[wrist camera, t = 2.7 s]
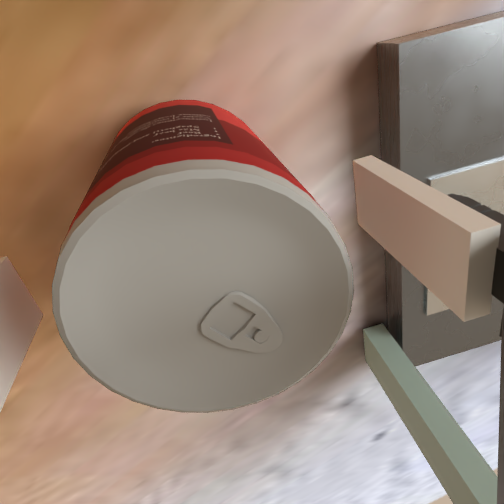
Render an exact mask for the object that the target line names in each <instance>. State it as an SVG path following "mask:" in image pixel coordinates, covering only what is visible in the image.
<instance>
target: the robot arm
mask: <svg viewBox="0 0 504 504" xmlns="http://www.w3.org/2000/svg"><path fill="white" fill-rule="evenodd" d="M353 172H354V184H355V196H356V208H357V220H358V225H360V226H361V227H362V228H363V229H364V230H365V231H366V232H367V233H368V234H369V235H370V236H371V237H373V238H374V239H375V240H376V241H377V242H378V243H379V244H380V245H381V246H382V247H383V248H384V249H386V250H387V251H388V252H389V253H390V254H391V255H392V256H393V257H394V258H395V259H396V260H397V261H399V262H400V263H401V264H402V265H403V266H404V267H405V268H406V269H407V270H408V271H409V272H410V273H411V274H413V275H414V276H415V277H416V278H417V279H418V280H419V281H420V282H421V283H422V284H423V285H424V286H426V287H427V288H428V289H429V290H430V291H431V292H432V293H433V294H434V295H435V296H436V297H437V298H439V299H440V300H441V301H442V302H443V303H444V304H445V305H446V306H447V307H448V308H449V309H450V310H452V311H453V312H454V313H455V314H456V315H457V316H458V317H459V318H460V319H461V320H462V321H463V322H466V321H469V320H472V319H476V318H479V317H482V316H485V315H488V314H490V311H491V303H492V295H493V296H494V297H495V298H497V299H498V300H499V301H500V302H502V303H503V304H504V215H503V214H501V213H499V212H497V211H495V210H491V208H489V207H487V206H485V205H481V203H479V202H477V201H475V200H473V199H471V198H469V197H465V196H461V195H456V194H448V195H445V194H444V193H442V192H440V191H438V190H436V189H434V188H432V187H430V186H428V185H427V184H425V183H423V182H421V181H419V180H417V179H415V178H413V177H412V176H410V175H408V174H406V173H404V172H402V171H400V170H398V169H397V168H395V167H393V166H391V165H389V164H387V163H385V162H383V161H382V160H380V159H378V158H376V157H374V156H372V155H370V156H366V157H363V158H359V159H355V160H353ZM42 317H43V314H42V312H41V310H40V309H39V307H38V305H37V304H36V302H35V301H34V299H33V297H32V296H31V294H30V292H29V291H28V289H27V288H26V286H25V284H24V283H23V281H22V279H21V278H20V276H19V275H18V273H17V271H16V270H15V268H14V266H13V265H12V263H11V262H10V260H9V258H8V257H7V256H5V257H1V258H0V412H1V409H2V407H3V405H4V403H5V400H6V398H7V396H8V394H9V391H10V389H11V387H12V384H13V382H14V380H15V378H16V375H17V373H18V371H19V369H20V366H21V364H22V362H23V360H24V357H25V355H26V353H27V351H28V348H29V346H30V344H31V342H32V339H33V337H34V335H35V333H36V330H37V328H38V326H39V324H40V321H41V319H42ZM499 336H500V337H502V343H501V378H500V412H499V447H498V481H497V504H504V307H503V314H502V321H501V328H500V335H499Z"/></svg>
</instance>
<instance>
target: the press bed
mask: <svg viewBox="0 0 504 504" xmlns="http://www.w3.org/2000/svg"><path fill="white" fill-rule="evenodd" d="M377 59H378V85H379V112H380V138H381V160H382V161H383V162H385V163H387V164H389V165H391V166H393V167H395V168H397V169H398V170H400V171H402V172H404V173H406V174H408V175H410V176H412V177H413V178H415V179H417V180H419V181H421V182H423V183H425V184H427V185H428V186H430V187H432V188H434V189H436V190H438V191H440V192H442V193H444V194H445V195H448V194H456V195H461V196H465V197H469V198H471V199H473V200H475V201H477V202H479V203H481V205H485V206H487V207H489V208H491V210H495V211H497V212H499V213H501V214H503V215H504V11H500V12H497V13H493V14H489V15H485V16H481V17H477V18H473V19H469V20H465V21H461V22H457V23H453V24H449V25H445V26H441V27H437V28H434V29H430V30H426V31H422V32H418V33H414V34H410V35H406V36H402V37H398V38H394V39H390V40H386V41H382V42H378V43H377ZM385 269H386V296H387V322H388V331H389V333H390V334H391V335H392V337H393V338H394V339H395V341H396V342H397V343H398V345H399V346H400V347H401V349H402V350H403V351H404V353H405V354H406V355H407V357H408V358H409V359H410V361H411V362H412V363H413V365H414V366H418V365H421V364H425V363H428V362H431V361H434V360H438V359H441V358H444V357H447V356H450V355H454V354H457V353H460V352H463V351H467V350H470V349H473V348H476V347H480V346H483V345H486V344H489V343H493V342H496V341H499V340H502V337H500V336H499V335H500V328H501V321H502V314H503V307H504V304H503V303H502V302H500V301H499V300H498V299H497V298H495V297H494V296H493V295H492V303H491V311H490V314H488V315H485V316H482V317H479V318H476V319H472V320H469V321H466V322H463V321H462V320H461V319H460V318H459V317H458V316H457V315H456V314H455V313H454V312H453V311H452V310H450V309H449V308H448V307H447V306H446V305H445V304H444V303H443V302H442V301H441V300H440V299H439V298H437V297H436V296H435V295H434V294H433V293H432V292H431V291H430V290H429V289H428V288H427V287H426V286H424V285H423V284H422V283H421V282H420V281H419V280H418V279H417V278H416V277H415V276H414V275H413V274H411V273H410V272H409V271H408V270H407V269H406V268H405V267H404V266H403V265H402V264H401V263H400V262H399V261H397V260H396V259H395V258H394V257H393V256H392V255H391V254H390V253H389V252H388V251H387V250H386V249H385Z"/></svg>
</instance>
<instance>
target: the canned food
mask: <svg viewBox="0 0 504 504" xmlns="http://www.w3.org/2000/svg"><path fill="white" fill-rule="evenodd" d="M353 293H354V285H353V270H352V265H351V262H350V259H349V256H348V253H347V249H346V246H345V244H344V242H343V241H342V239H341V237H340V236H339V234H338V232H337V230H336V228H335V227H334V225H333V223H332V222H331V220H330V218H329V217H328V215H327V213H326V212H325V211H324V210H323V209H322V208H321V207H320V206H319V204H318V203H317V202H316V201H315V199H314V198H313V197H312V196H311V194H310V193H309V192H308V191H307V190H306V189H305V188H304V187H303V186H302V185H301V184H300V183H299V181H298V180H297V179H296V178H295V177H294V176H293V175H292V174H291V173H290V172H289V171H288V169H287V168H286V167H285V166H284V165H283V164H282V163H281V162H280V161H279V160H278V159H277V158H276V156H275V155H274V154H273V153H272V152H271V151H270V150H269V149H268V148H267V147H266V146H265V145H264V143H263V142H262V141H261V140H260V139H259V138H258V137H257V136H256V135H255V134H254V133H253V132H252V130H251V129H250V128H249V127H248V126H247V125H246V124H245V123H244V122H243V121H241V120H240V119H239V118H237V117H236V116H234V115H233V114H232V113H230V112H229V111H227V110H224V109H222V108H220V107H218V106H215V105H213V104H209V103H205V102H201V101H196V100H174V101H168V102H163V103H159V104H156V105H154V106H152V107H149V108H147V109H144V110H143V111H141V112H140V113H139V114H137V115H136V116H134V117H133V118H131V119H130V120H129V121H128V122H127V123H126V125H125V126H124V127H123V128H122V129H121V130H120V131H119V133H118V134H117V136H116V138H115V140H114V142H113V144H112V146H111V147H110V149H109V151H108V153H107V155H106V157H105V159H104V161H103V163H102V165H101V167H100V169H99V171H98V173H97V175H96V177H95V179H94V180H93V182H92V184H91V186H90V188H89V190H88V192H87V194H86V196H85V198H84V200H83V202H82V204H81V206H80V208H79V210H78V212H77V213H76V215H75V217H74V219H73V221H72V223H71V225H70V228H69V231H68V233H67V235H66V237H65V239H64V241H63V243H62V245H61V249H60V253H59V257H58V261H57V265H56V270H55V275H54V279H53V283H52V302H53V314H54V317H55V321H56V324H57V327H58V331H59V334H60V337H61V338H62V340H63V342H64V343H65V345H66V347H67V348H68V350H69V352H70V353H71V355H72V357H73V358H74V359H75V360H76V361H77V362H78V363H79V365H80V366H81V367H82V368H83V369H84V370H85V371H86V372H87V373H88V374H89V375H90V376H91V377H92V378H94V379H95V380H97V381H98V382H99V383H101V384H102V385H104V386H105V387H106V388H108V389H109V390H111V391H113V392H115V393H117V394H119V395H121V396H123V397H125V398H127V399H129V400H131V401H134V402H137V403H140V404H144V405H147V406H150V407H154V408H157V409H163V410H170V411H177V412H197V413H208V412H216V411H225V410H232V409H236V408H240V407H244V406H248V405H252V404H255V403H258V402H260V401H263V400H265V399H268V398H270V397H273V396H275V395H277V394H279V393H281V392H283V391H284V390H286V389H288V388H290V387H291V386H293V385H295V384H296V383H298V382H299V381H301V380H302V379H303V378H304V377H306V376H307V375H308V374H309V373H311V372H312V371H313V370H314V369H316V367H317V366H318V365H319V364H320V363H321V362H322V361H323V360H324V359H325V358H326V356H327V355H328V354H329V353H330V352H331V351H332V349H333V347H334V346H335V344H336V343H337V341H338V339H339V338H340V336H341V335H342V333H343V331H344V328H345V325H346V323H347V320H348V318H349V315H350V312H351V306H352V300H353Z"/></svg>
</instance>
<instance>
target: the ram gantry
mask: <svg viewBox="0 0 504 504" xmlns="http://www.w3.org/2000/svg"><path fill="white" fill-rule="evenodd" d="M363 335H364V348H365V360H366V362H367V364H368V365H369V367H370V368H371V370H372V372H373V373H374V375H375V377H376V378H377V380H378V381H379V383H380V385H381V386H382V388H383V390H384V391H385V393H386V395H387V396H388V398H389V399H390V401H391V403H392V404H393V406H394V408H395V409H396V411H397V413H398V414H399V416H400V417H401V419H402V421H403V422H404V424H405V426H406V427H407V429H408V430H409V432H410V434H411V435H412V437H413V439H414V440H415V442H416V444H417V445H418V447H419V448H420V450H421V452H422V453H423V455H424V457H425V458H426V460H427V462H428V463H429V465H430V466H431V468H432V470H433V471H434V473H435V475H436V476H437V478H438V479H439V481H440V483H441V484H442V486H443V488H444V489H445V491H446V493H447V494H448V496H449V497H450V499H451V501H452V502H453V504H497V481H498V477H497V476H496V474H495V473H494V472H493V470H492V469H491V468H490V466H489V465H488V464H487V462H486V461H485V460H484V458H483V457H482V456H481V454H480V453H479V452H478V450H477V449H476V448H475V446H474V445H473V444H472V442H471V441H470V439H469V438H468V437H467V435H466V434H465V433H464V431H463V430H462V429H461V427H460V426H459V425H458V423H457V422H456V421H455V419H454V418H453V417H452V415H451V414H450V413H449V411H448V410H447V409H446V407H445V406H444V405H443V403H442V402H441V401H440V399H439V398H438V397H437V395H436V394H435V393H434V391H433V390H432V389H431V387H430V386H429V385H428V383H427V382H426V381H425V379H424V378H423V377H422V375H421V374H420V373H419V371H418V370H417V369H416V367H415V366H414V365H413V363H412V362H411V361H410V359H409V358H408V357H407V355H406V354H405V353H404V351H403V350H402V349H401V347H400V346H399V345H398V343H397V342H396V341H395V339H394V338H393V337H392V335H391V334H390V333H389V331H388V330H387V329H386V327H385V326H384V325H383V323H382V324H379V325H376V326H372V327H369V328H366V329H363Z"/></svg>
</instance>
